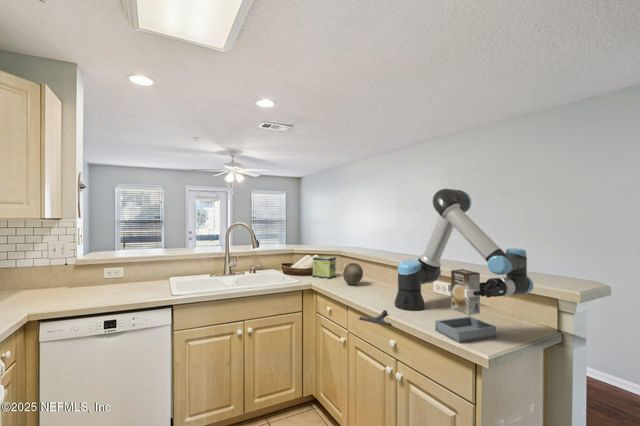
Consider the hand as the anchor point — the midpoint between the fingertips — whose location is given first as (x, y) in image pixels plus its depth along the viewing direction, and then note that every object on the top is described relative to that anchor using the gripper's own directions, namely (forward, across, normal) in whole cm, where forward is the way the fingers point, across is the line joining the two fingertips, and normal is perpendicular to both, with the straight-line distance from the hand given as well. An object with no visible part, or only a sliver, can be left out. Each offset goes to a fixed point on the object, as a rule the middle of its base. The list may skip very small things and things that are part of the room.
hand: (456, 290), depth 119 cm
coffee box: (-4, 0, -9) cm, 10 cm away
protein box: (+12, +128, -17) cm, 130 cm away
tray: (-4, 0, -18) cm, 18 cm away
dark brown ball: (+2, +95, -17) cm, 97 cm away
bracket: (+19, +27, -18) cm, 38 cm away
